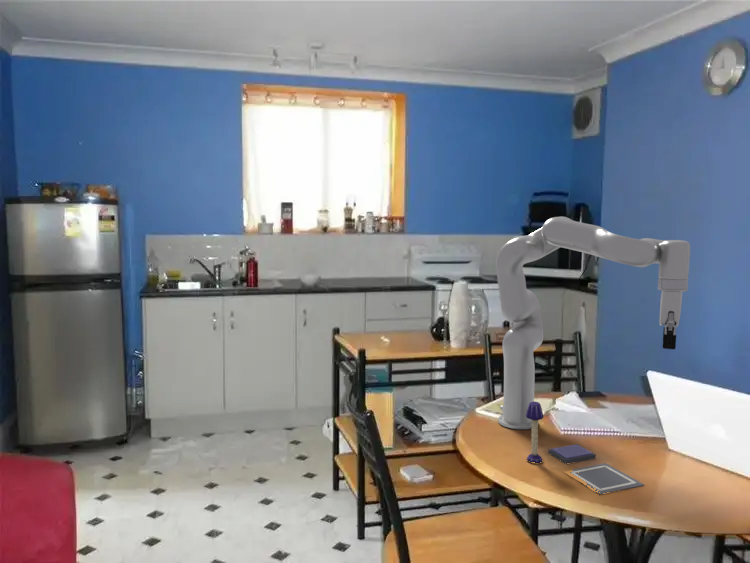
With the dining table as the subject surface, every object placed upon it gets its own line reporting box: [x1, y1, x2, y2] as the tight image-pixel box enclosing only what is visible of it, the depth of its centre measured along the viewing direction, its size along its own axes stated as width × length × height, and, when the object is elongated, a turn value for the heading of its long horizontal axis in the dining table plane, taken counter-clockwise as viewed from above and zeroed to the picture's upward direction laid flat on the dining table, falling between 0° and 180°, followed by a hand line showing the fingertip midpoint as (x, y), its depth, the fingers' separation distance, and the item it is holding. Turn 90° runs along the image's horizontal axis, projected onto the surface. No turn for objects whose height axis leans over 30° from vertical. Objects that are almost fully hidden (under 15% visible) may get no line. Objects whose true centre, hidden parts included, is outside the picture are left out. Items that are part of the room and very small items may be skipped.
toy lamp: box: [526, 401, 544, 464], centre depth 176 cm, size 5×5×17 cm
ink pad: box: [547, 443, 597, 465], centre depth 181 cm, size 8×10×2 cm
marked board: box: [570, 462, 645, 495], centre depth 166 cm, size 14×14×1 cm
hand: (668, 344), depth 181 cm, fingers open, 9 cm apart
